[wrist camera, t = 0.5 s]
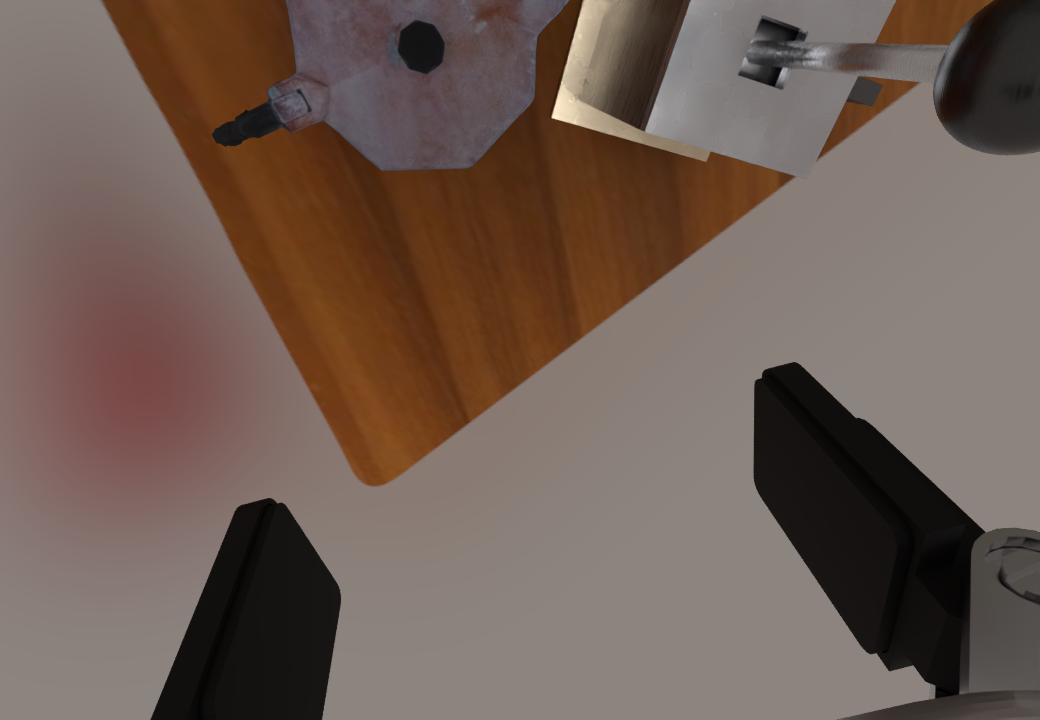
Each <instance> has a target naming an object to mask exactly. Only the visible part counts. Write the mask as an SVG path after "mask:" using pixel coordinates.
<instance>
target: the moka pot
mask: <svg viewBox="0 0 1040 720" xmlns="http://www.w3.org/2000/svg"><path fill="white" fill-rule="evenodd" d="M568 1H569V0H286V4H287V9H288V14H289V19H290V26H291V33H292V39H293V44H294V52H295V61H296V69H295V72H294V75H293V76H291V77H290V78H288V79H286V80H283V81H280V82H277V83H276V84H274V85H273V86H271V87H270V88H269V89H268V90H267V93H268V97H269V100H268V102H266V103H264V104H262V105H260V106H258V107H256V108H254V109H252V110H251V111H247V110H245V112H244V113H242V114H240V115H239V116H237V117H236V118H235V121H232V122H227V123H225V124H223V125H222V126H220V127H219V128H216V129H215V131H214V132H213V133H212V136H213V138H214V140H215V141H216V143H219V144H222V145H224V146H227V145H228V146H237V145H239V144H241V143H242V141H244V140H246V139H248V138H252V137H256V138H260V137H262V136H264V135H266V134H268V133H270V132H273V131H275V130H277V129H279V128H281V127H284V128H285V129H287V130H288V131H289V132H290V133H296V132H298V131H300V130H302V129H304V128H306V127H309V126H311V125H314V124H317V123H320V122H325V123H327V124H328V125H329V126H330V127H332V128H333V129H334V130H335V131H337V132H338V133H339V134H340V135H341V136H342V137H343V138H344V139H345V140H347V141H348V142H349V143H350V144H351V145H352V146H353V147H354V148H356V149H357V150H358V151H359V152H360V153H361V154H362V155H363V156H365V157H366V158H367V159H368V160H369V161H370V162H372V163H373V164H374V165H376V166H377V167H378V168H379V169H381V170H382V171H404V170H428V169H464V168H471V167H473V166H474V165H475V164H476V163H477V161H478V160H479V159H480V158H481V157H482V156H483V155H484V154H485V153H486V152H487V151H488V150H489V148H490V147H491V146H492V145H493V144H494V143H495V142H496V140H497V139H498V138H499V137H500V136H501V135H502V134H503V133H504V132H505V131H506V130H507V128H508V127H509V126H510V125H511V124H512V123H513V122H514V121H515V120H516V119H517V118H518V117H519V115H520V114H522V113H523V112H524V111H525V110H526V109H527V108H528V107H529V105H530V104H531V102H532V101H533V100H534V97H535V79H536V46H537V36H538V35H539V34H540V33H541V31H542V30H543V29H544V28H545V27H546V25H547V24H548V23H549V22H550V21H552V20H553V19H554V18H555V17H556V16H557V15H558V14H559V12H560V11H561V10H562V9H563V7H564V6H565V5H566V4H567V3H568Z"/></svg>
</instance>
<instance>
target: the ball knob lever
mask: <svg viewBox="0 0 1040 720" xmlns="http://www.w3.org/2000/svg"><path fill="white" fill-rule="evenodd" d="M797 35H798V31H796V30H793V29H790V28H787V27H785V26H782V25H779V24H776V23H774V22H771V21H768V20H766V19H763V18H761V19H760V22H759V24H758V27H757V29H756V32H755V34H754V36H753V39H752V41H751V44H750V46H749V49H748V51H747V54H746V56H745V59H744V61H743V64H742V66H741V68H740V71H739V73H738V75H739V76H742V77H745V78H748V79H751V80H754V81H757V82H760V83H763V84H766V85H769V86H772V87H775V85H776V82H777V80H778V78H779V76H780V73H781V71H782V69H783V68H791V69H800V70H810V71H820V72H829V73H839V74H849V75H858V76H868V77H877V78H887V79H897V80H906V81H916V82H926V83H934V90H933V97H934V105H935V109H936V113H937V116H938V118H939V120H940V122H941V123H942V125H943V126H944V128H945V130H946V131H947V132H948V133H949V134H950V135H951V136H952V137H953V138H955V139H956V140H957V141H959V142H960V143H962V144H963V145H965V146H967V147H969V148H972V149H974V150H977V151H980V152H984V153H989V154H996V155H1020V154H1028V153H1035V152H1039V151H1040V0H994V1H993V2H991V3H990V4H988V5H987V6H985V7H984V8H983V9H981V10H980V11H979V12H978V13H976V14H975V15H974V16H973V17H972V18H971V19H970V20H969V21H968V22H967V23H966V24H965V25H964V26H963V27H962V28H961V29H960V31H959V32H958V33H957V34H956V36H955V37H954V38H953V40H952V41H951V42H950V44H949V45H918V44H881V43H844V42H807V41H795V39H796V37H797Z"/></svg>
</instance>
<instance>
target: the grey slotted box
mask: <svg viewBox="0 0 1040 720" xmlns="http://www.w3.org/2000/svg"><path fill="white" fill-rule="evenodd" d="M895 1H896V0H582V1H581V5H580V8H579V12H578V16H577V19H576V23H575V27H574V30H573V34H572V38H571V41H570V45H569V49H568V52H567V56H566V60H565V63H564V67H563V71H562V74H561V78H560V82H559V85H558V89H557V93H556V96H555V100H554V104H553V107H552V111H551V115H550V117H551V118H554V119H557V120H561V121H564V122H568V123H571V124H575V125H578V126H582V127H585V128H589V129H592V130H596V131H599V132H603V133H606V134H610V135H613V136H617V137H620V138H624V139H628V140H631V141H635V142H638V143H642V144H645V145H649V146H652V147H656V148H659V149H663V150H666V151H670V152H673V153H677V154H680V155H684V156H687V157H691V158H694V159H698V160H701V161H705V162H706V161H707V159H708V157H709V154H710V152H711V151H712V152H715V153H718V154H722V155H725V156H729V157H732V158H736V159H739V160H743V161H746V162H749V163H753V164H756V165H760V166H763V167H767V168H770V169H774V170H777V171H780V172H784V173H787V174H791V175H794V176H798V177H801V178H805V179H807V178H808V176H809V174H810V172H811V170H812V168H813V166H814V164H815V162H816V160H817V158H818V156H819V154H820V152H821V150H822V148H823V146H824V144H825V142H826V140H827V138H828V136H829V134H830V132H831V130H832V128H833V126H834V124H835V122H836V120H837V118H838V116H839V114H840V112H841V110H842V108H843V106H844V104H845V102H851V103H856V104H862V105H868V106H872V105H873V103H874V101H875V100H876V98H877V96H878V94H879V92H880V90H881V88H882V86H883V85H881V84H879V83H876V82H873V81H870V80H867V79H864V78H862V77H859V76H858V75H849V74H839V73H829V72H820V71H810V70H800V69H791V68H783V69H782V71H781V73H780V76H779V78H778V80H777V82H776V85H775V87H772V86H769V85H766V84H763V83H760V82H757V81H754V80H751V79H748V78H745V77H742V76H739V75H738V73H739V71H740V68H741V66H742V64H743V61H744V59H745V56H746V54H747V51H748V49H749V46H750V44H751V41H752V39H753V36H754V34H755V32H756V29H757V27H758V24H759V22H760V19H761V18H763V19H766V20H768V21H771V22H774V23H776V24H779V25H782V26H785V27H787V28H790V29H793V30H796V31H798V35H797V37H796V39H795V41H807V42H844V43H875V42H876V40H877V38H878V36H879V34H880V32H881V30H882V27H883V25H884V23H885V21H886V19H887V17H888V15H889V13H890V11H891V9H892V7H893V5H894V3H895Z"/></svg>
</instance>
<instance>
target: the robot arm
mask: <svg viewBox="0 0 1040 720" xmlns="http://www.w3.org/2000/svg"><path fill="white" fill-rule="evenodd" d="M754 482H755V486H756V489H757V491H758V493H759V495H760V497H761V498H762V500H763V501H764V503H765V504H766V506H767V507H768V508H769V510H770V512H771V513H772V515H773V516H774V518H775V519H776V521H777V522H778V523H779V525H780V526H781V528H782V529H783V531H784V532H785V534H786V535H787V537H788V538H789V540H790V541H791V543H792V544H793V546H794V547H795V549H796V550H797V552H798V553H799V554H800V556H801V558H802V559H803V561H804V562H805V564H806V565H807V566H808V568H809V569H810V571H811V572H812V574H813V575H814V577H815V578H816V580H817V581H818V583H819V584H820V586H821V587H822V589H823V590H824V592H825V593H826V595H827V596H828V598H829V599H830V601H831V602H832V604H833V605H834V607H835V608H836V610H837V611H838V613H839V614H840V616H841V617H842V619H843V620H844V622H845V623H846V625H847V626H848V628H849V629H850V631H851V632H852V633H853V635H854V636H855V638H856V639H857V641H858V642H859V644H860V645H861V646H862V648H863V649H864V650H865V651H866V652H867V653H869V654H875V653H877V654H878V656H879V657H880V659H881V660H882V662H883V663H884V665H885V666H886V668H887V669H888V670H889V671H893V670H897V669H901V668H904V667H908V666H912V665H914V667H915V668H916V670H917V671H918V672H919V674H920V675H921V676H922V678H923V679H924V680H925V681H926V682H928V683H930V695H929V700H924V701H919V702H913V703H908V704H904V705H900V706H895V707H891V708H886V709H882V710H878V711H873V712H869V713H864V714H860V715H855V716H851V717H847V718H842V719H838V720H1040V532H1037V531H1034V530H1027V529H1020V528H1002V529H995V530H992V531H989V532H987V533H986V532H985V531H984V530H983V529H982V528H981V527H979V526H978V525H977V524H976V523H975V522H974V521H973V520H972V519H971V518H970V517H969V516H968V515H967V514H966V513H965V512H963V510H961V509H960V508H959V507H958V506H957V505H956V504H955V503H954V502H953V501H952V500H951V499H950V498H949V497H948V496H947V495H946V494H944V493H943V492H942V491H941V490H940V489H939V488H938V487H937V486H936V485H935V484H934V483H933V482H932V481H931V480H930V479H929V478H928V477H926V476H925V475H924V474H923V473H922V472H921V471H920V470H919V469H918V468H917V467H916V466H915V465H914V464H912V462H910V461H909V460H908V459H907V458H906V457H905V456H904V455H903V454H902V453H901V452H900V451H899V450H898V449H897V448H896V447H894V446H893V445H892V444H891V443H890V442H889V441H888V440H887V439H886V438H885V437H884V436H883V435H882V434H881V433H880V432H879V431H877V430H876V428H874V427H873V426H872V425H871V424H870V423H868V422H867V421H865V420H863V419H860V418H855V417H854V416H853V415H852V414H851V413H850V412H849V411H848V410H847V409H846V408H845V407H844V406H842V404H841V403H839V402H838V401H837V400H836V399H835V398H834V397H833V396H832V395H831V394H830V393H829V392H828V391H827V390H826V389H825V388H824V387H823V386H822V385H821V384H820V383H819V382H818V381H817V380H816V379H815V378H814V377H812V376H811V375H810V374H809V373H808V372H807V371H806V370H805V369H804V368H803V367H802V366H801V365H800V364H798V363H796V362H793V363H788V364H784V365H780V366H777V367H773V368H769V369H766V370H764V371H763V373H762V378H761V379H757V380H756V381H755V386H754ZM340 605H341V594H340V589H339V586H338V584H337V583H336V581H335V579H334V578H333V576H332V575H331V573H330V572H329V570H328V569H327V567H326V566H325V564H324V563H323V561H322V560H321V558H320V557H319V555H318V554H317V552H316V551H315V549H314V547H313V546H312V544H311V543H310V541H309V540H308V538H307V537H306V535H305V534H304V532H303V531H302V529H301V528H300V526H299V525H298V523H297V522H296V520H295V518H294V517H293V515H292V514H291V512H290V511H289V509H288V508H287V506H286V505H285V504H283V503H278V504H277V503H276V501H275V500H273V499H271V498H267V499H263V500H259V501H256V502H252V503H248V504H244V505H241V506H239V507H238V508H237V509H236V511H235V513H234V515H233V518H232V520H231V523H230V525H229V528H228V530H227V532H226V535H225V537H224V540H223V542H222V545H221V547H220V550H219V552H218V555H217V557H216V560H215V562H214V564H213V567H212V569H211V572H210V574H209V577H208V579H207V582H206V584H205V587H204V589H203V592H202V594H201V597H200V599H199V602H198V604H197V606H196V609H195V611H194V614H193V617H192V619H191V621H190V624H189V626H188V629H187V631H186V634H185V636H184V639H183V641H182V643H181V646H180V648H179V651H178V653H177V656H176V658H175V661H174V663H173V666H172V668H171V671H170V673H169V676H168V678H167V680H166V683H165V685H164V688H163V690H162V693H161V695H160V698H159V700H158V703H157V705H156V708H155V710H154V713H153V715H152V718H151V720H322V716H323V710H324V704H325V697H326V691H327V685H328V679H329V673H330V666H331V661H332V654H333V648H334V642H335V636H336V630H337V624H338V618H339V611H340Z"/></svg>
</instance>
